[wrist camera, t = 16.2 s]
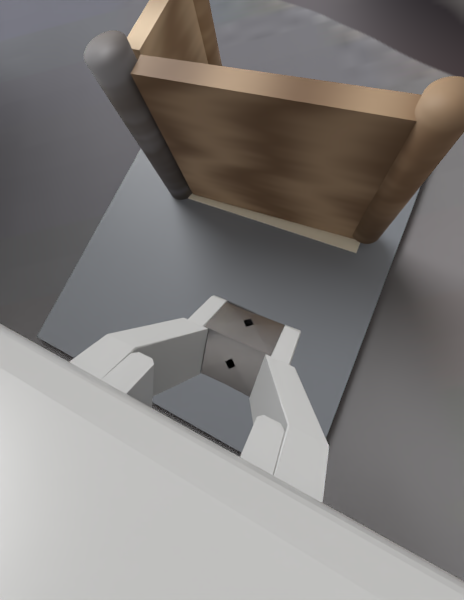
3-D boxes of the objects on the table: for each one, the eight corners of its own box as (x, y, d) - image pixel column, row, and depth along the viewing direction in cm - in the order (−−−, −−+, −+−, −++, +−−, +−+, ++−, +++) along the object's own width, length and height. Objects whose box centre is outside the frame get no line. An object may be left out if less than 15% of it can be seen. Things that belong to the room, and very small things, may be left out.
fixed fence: (188, 203, 23) (112, 72, 13) (165, 195, 24) (75, 64, 13) (236, 108, 25) (203, -80, 14) (213, 103, 25) (166, -81, 15)
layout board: (41, 337, 24) (35, 336, 23) (181, 83, 27) (179, 77, 27) (305, 486, 18) (306, 490, 17) (438, 135, 21) (442, 129, 21)
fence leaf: (191, 198, 23) (121, 69, 13) (200, 178, 23) (139, 36, 13) (374, 250, 19) (477, 127, 9) (382, 225, 20) (491, 80, 9)
